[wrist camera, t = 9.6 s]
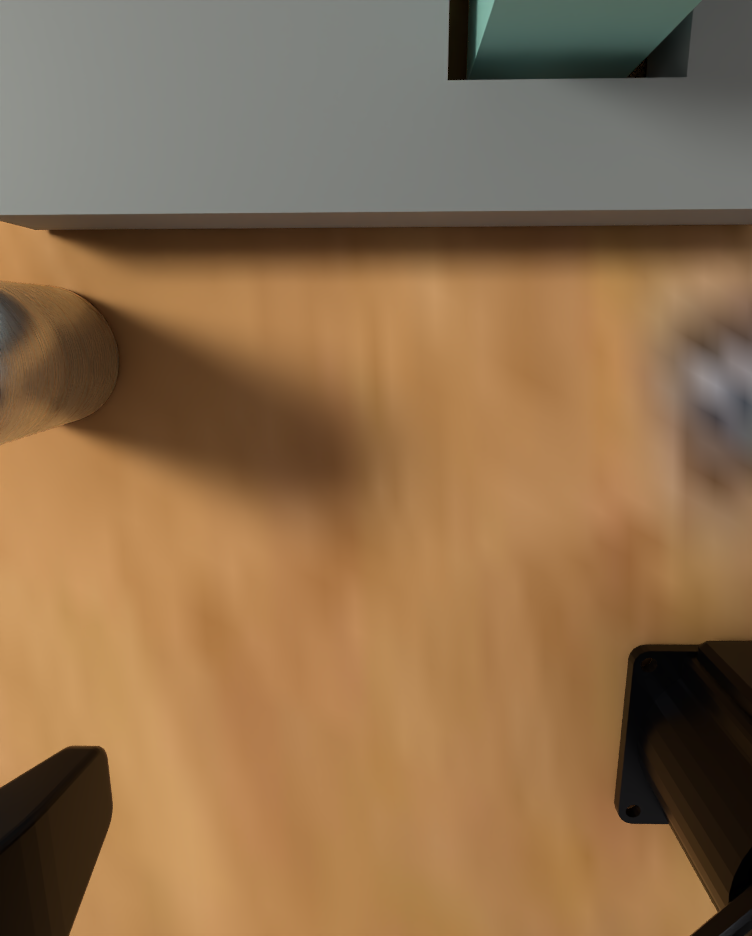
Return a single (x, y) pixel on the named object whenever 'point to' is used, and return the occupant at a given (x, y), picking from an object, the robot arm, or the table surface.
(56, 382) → the round peg
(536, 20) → the square peg
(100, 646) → the table surface
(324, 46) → the plate
